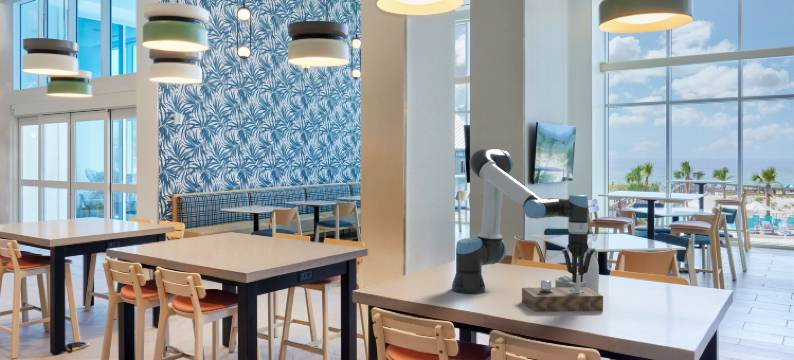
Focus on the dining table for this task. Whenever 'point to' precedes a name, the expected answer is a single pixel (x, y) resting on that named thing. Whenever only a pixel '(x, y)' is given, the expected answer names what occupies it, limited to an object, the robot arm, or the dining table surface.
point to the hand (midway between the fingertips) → (577, 290)
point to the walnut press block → (562, 300)
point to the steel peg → (545, 286)
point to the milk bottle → (592, 273)
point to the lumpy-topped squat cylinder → (567, 282)
